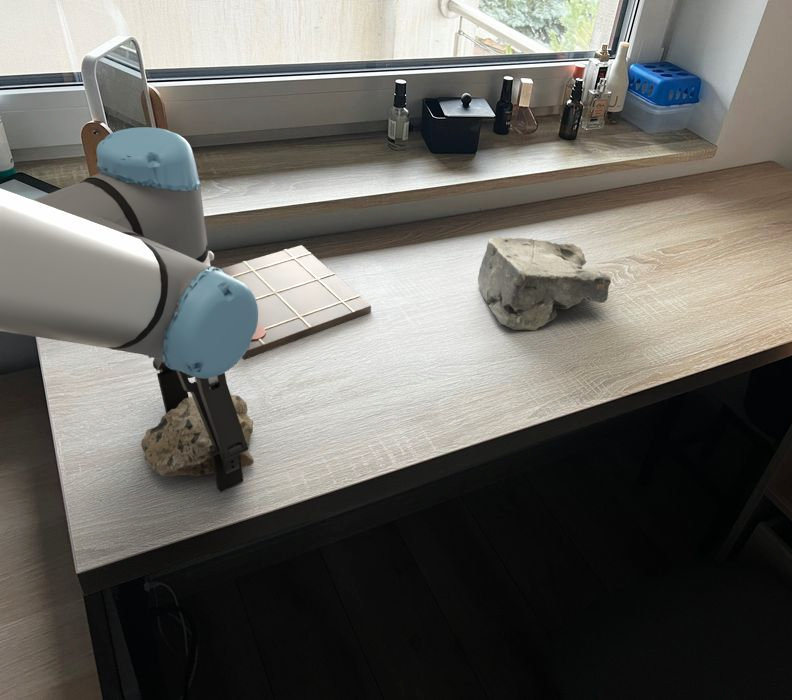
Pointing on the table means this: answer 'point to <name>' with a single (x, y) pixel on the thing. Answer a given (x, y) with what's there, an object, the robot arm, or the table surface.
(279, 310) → the grid board
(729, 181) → the table surface
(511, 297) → the grey broken concrete chunk
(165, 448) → the rock
